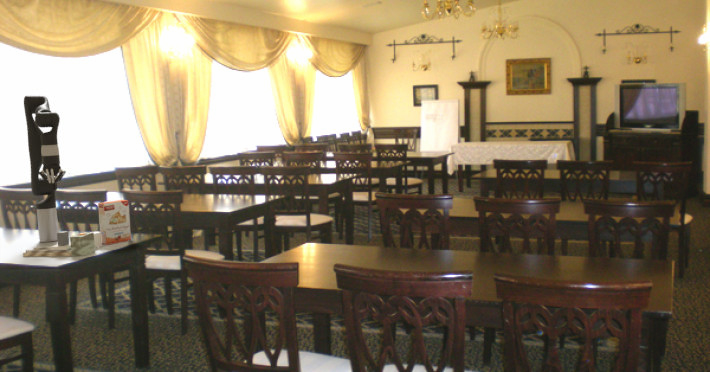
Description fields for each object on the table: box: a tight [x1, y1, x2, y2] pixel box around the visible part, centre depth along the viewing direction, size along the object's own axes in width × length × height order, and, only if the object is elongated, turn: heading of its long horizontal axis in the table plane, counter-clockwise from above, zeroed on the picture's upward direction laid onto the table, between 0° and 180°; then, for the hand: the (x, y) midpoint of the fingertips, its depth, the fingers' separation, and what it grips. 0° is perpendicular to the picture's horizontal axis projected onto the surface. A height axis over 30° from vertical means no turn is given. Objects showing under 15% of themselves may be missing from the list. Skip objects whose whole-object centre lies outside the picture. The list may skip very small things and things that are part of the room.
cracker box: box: [97, 199, 132, 246], centre depth 325 cm, size 14×6×21 cm, turn 143°
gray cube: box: [49, 230, 71, 250], centre depth 301 cm, size 8×9×8 cm
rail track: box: [22, 232, 96, 257], centre depth 302 cm, size 30×10×9 cm, turn 83°
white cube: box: [88, 230, 102, 248], centre depth 316 cm, size 7×7×7 cm
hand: (53, 190), depth 307 cm, fingers closed
